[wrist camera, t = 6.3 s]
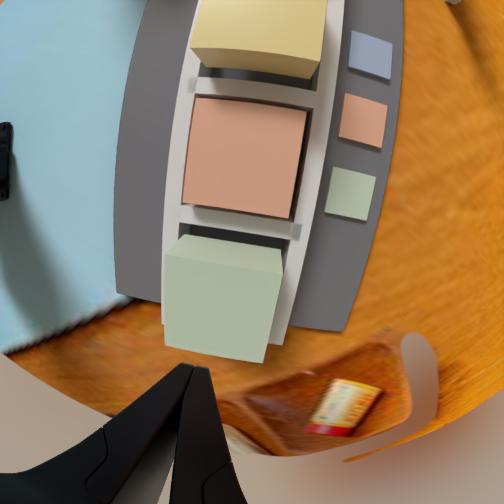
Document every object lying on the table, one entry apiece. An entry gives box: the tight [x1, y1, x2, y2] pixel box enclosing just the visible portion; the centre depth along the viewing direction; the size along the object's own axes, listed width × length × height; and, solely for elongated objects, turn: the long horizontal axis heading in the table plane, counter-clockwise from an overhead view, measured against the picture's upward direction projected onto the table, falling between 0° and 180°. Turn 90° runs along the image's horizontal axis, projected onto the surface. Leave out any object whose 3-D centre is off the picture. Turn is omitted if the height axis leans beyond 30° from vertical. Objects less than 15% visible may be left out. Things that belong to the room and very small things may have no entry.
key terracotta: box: [183, 98, 306, 218], centre depth 12 cm, size 4×4×3 cm
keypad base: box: [114, 0, 403, 345], centre depth 12 cm, size 15×25×3 cm, turn 171°
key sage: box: [164, 234, 283, 363], centre depth 12 cm, size 4×4×3 cm
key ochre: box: [190, 0, 327, 80], centre depth 8 cm, size 4×4×3 cm
